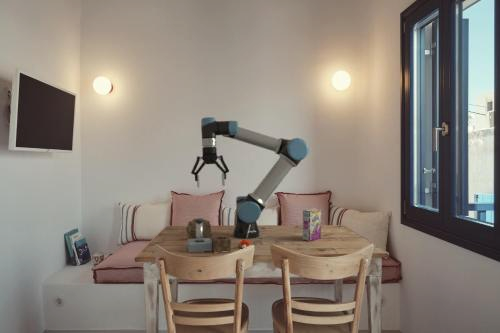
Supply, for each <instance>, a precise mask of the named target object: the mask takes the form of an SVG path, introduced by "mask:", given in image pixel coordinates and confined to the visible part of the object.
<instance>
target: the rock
mask: <svg viewBox="0 0 500 333" xmlns="http://www.w3.org/2000/svg"><path fill="white" fill-rule="evenodd" d="M195 219H196V218H194V219H193V218H192V220H191V221H190V220H189V221H188V223H187V226H186V228H185V229H186V232H187V234H188V237H190V238H191V237H195V238H196V222H195ZM210 223H211V222H210V221H209V220H207V219H204V222H203V238H204V237H207V238H210V237H211V236H212V235H211V233H212V227H211V226H212V224H210Z"/></svg>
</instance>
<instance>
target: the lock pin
mask: <svg viewBox="0 0 500 333" xmlns="http://www.w3.org/2000/svg"><path fill="white" fill-rule="evenodd" d="M194 219H195V222H196V237H195V239H196V243H198V242H203V222H204V220H205V219H204V218H194Z"/></svg>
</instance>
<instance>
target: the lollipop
mask: <svg viewBox="0 0 500 333" xmlns="http://www.w3.org/2000/svg"><path fill="white" fill-rule="evenodd" d="M250 226H251V225H249V229H248V232H247V233H249V232H256V231H254V230H253V231H249V230H250ZM247 237H248V234H247ZM249 245H251V246H253V242H252V241H249V240H248V238H245V239H242V240H241V241H240V242H238V244H237V247H238V248H239V249H242V248H243V247H246V246H249Z"/></svg>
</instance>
